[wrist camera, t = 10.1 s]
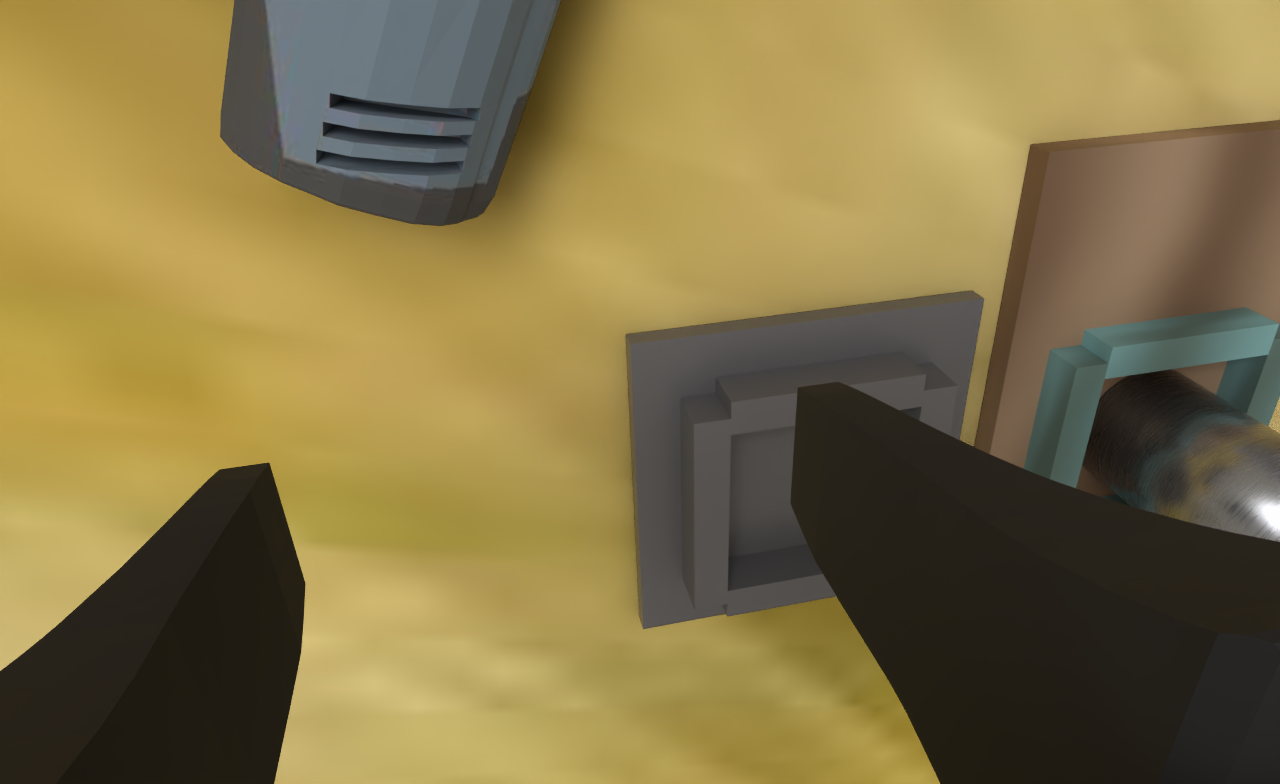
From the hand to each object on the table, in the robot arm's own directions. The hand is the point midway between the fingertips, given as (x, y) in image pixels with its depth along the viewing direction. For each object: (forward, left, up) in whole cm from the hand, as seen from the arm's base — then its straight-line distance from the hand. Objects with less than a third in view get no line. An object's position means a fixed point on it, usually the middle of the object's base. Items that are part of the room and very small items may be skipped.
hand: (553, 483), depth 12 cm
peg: (-19, +8, -10) cm, 23 cm away
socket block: (-8, +8, -10) cm, 15 cm away
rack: (-19, +8, -10) cm, 23 cm away
